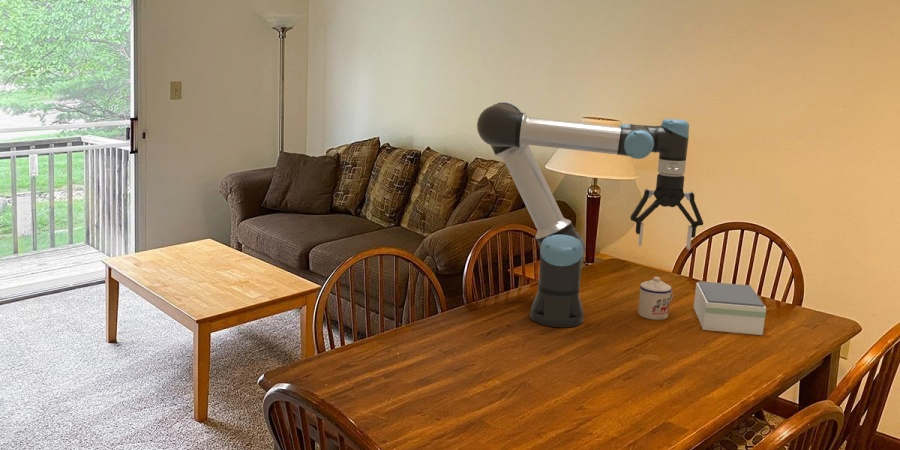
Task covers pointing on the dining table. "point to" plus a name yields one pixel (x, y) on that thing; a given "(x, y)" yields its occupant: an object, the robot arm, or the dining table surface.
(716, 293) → the stand
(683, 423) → the dining table surface
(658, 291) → the teacup with lid
